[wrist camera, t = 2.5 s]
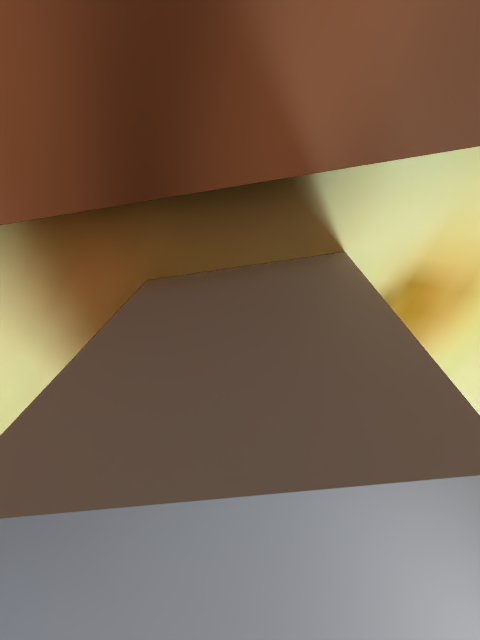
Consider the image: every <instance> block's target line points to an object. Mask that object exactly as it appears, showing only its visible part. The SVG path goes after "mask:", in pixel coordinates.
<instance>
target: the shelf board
mask: <svg viewBox="0 0 480 640" xmlns="http://www.w3.org/2000/svg"><path fill="white" fill-rule="evenodd" d="M477 146H480V0H0V225H3V224H9V223H15V222H21V221H27V220H34V219H40V218H46V217H52V216H58V215H64V214H70V213H76V212H82V211H88V210H94V209H100V208H106V207H112V206H119V205H125V204H131V203H137V202H143V201H149V200H155V199H161V198H167V197H173V196H179V195H185V194H191V193H197V192H204V191H210V190H216V189H222V188H228V187H234V186H240V185H246V184H252V183H258V182H264V181H270V180H276V179H283V178H289V177H295V176H301V175H307V174H313V173H319V172H325V171H331V170H337V169H343V168H349V167H355V166H361V165H368V164H374V163H380V162H386V161H392V160H398V159H404V158H410V157H416V156H422V155H428V154H434V153H440V152H446V151H453V150H459V149H465V148H471V147H477Z"/></svg>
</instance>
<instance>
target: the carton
mask: <svg viewBox="0 0 480 640" xmlns="http://www.w3.org/2000/svg"><path fill="white" fill-rule="evenodd" d="M0 640H480V415H479V414H478V413H477V412H476V411H475V409H474V408H473V407H472V406H471V404H470V403H469V402H468V401H467V400H466V398H465V397H464V396H463V395H462V394H461V392H460V391H459V390H458V389H457V387H456V386H455V385H454V384H453V383H452V381H451V380H450V379H449V378H448V377H447V375H446V374H445V373H444V372H443V370H442V369H441V368H440V367H439V366H438V364H437V363H436V362H435V361H434V360H433V358H432V357H431V356H430V355H429V353H428V352H427V351H426V350H425V349H424V347H423V346H422V345H421V344H420V343H419V341H418V340H417V339H416V338H415V336H414V335H413V334H412V333H411V332H410V330H409V329H408V328H407V327H406V326H405V324H404V323H403V322H402V321H401V319H400V318H399V317H398V316H397V315H396V313H395V312H394V311H393V310H392V309H391V307H390V306H389V305H388V304H387V302H386V301H385V300H384V299H383V298H382V296H381V295H380V294H379V293H378V292H377V290H376V289H375V288H374V287H373V285H372V284H371V283H370V282H369V281H368V279H367V278H366V277H365V276H364V274H363V273H362V272H361V271H360V270H359V268H358V267H357V266H356V265H355V264H354V262H353V261H352V260H351V259H350V257H349V256H348V255H347V254H346V253H345V252H339V253H333V254H326V255H319V256H312V257H305V258H298V259H291V260H284V261H277V262H271V263H264V264H257V265H250V266H243V267H236V268H229V269H222V270H216V271H209V272H202V273H195V274H188V275H181V276H174V277H167V278H160V279H154V280H147V281H145V283H144V284H143V285H142V286H141V287H140V288H139V289H138V290H137V291H136V292H135V293H134V294H133V295H132V296H131V297H130V298H129V300H128V301H127V302H126V303H125V304H124V305H123V306H122V307H121V308H120V309H119V310H118V311H117V312H116V313H115V314H114V315H113V317H112V318H111V319H110V320H109V321H108V322H107V323H106V324H105V325H104V326H103V327H102V328H101V329H100V330H99V331H98V332H97V334H96V335H95V336H94V337H93V338H92V339H91V340H90V341H89V342H88V343H87V344H86V345H85V346H84V347H83V348H82V349H81V351H80V352H79V353H78V354H77V355H76V356H75V357H74V358H73V359H72V360H71V361H70V362H69V363H68V364H67V365H66V367H65V368H64V369H63V370H62V371H61V372H60V373H59V374H58V375H57V376H56V377H55V378H54V379H53V380H52V381H51V382H50V384H49V385H48V386H47V387H46V388H45V389H44V390H43V391H42V392H41V393H40V394H39V395H38V396H37V397H36V398H35V399H34V401H33V402H32V403H31V404H30V405H29V406H28V407H27V408H26V409H25V410H24V411H23V412H22V413H21V414H20V415H19V416H18V418H17V419H16V420H15V421H14V422H13V423H12V424H11V425H10V426H9V427H8V428H7V429H6V430H5V431H4V432H3V433H2V435H1V436H0Z"/></svg>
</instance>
